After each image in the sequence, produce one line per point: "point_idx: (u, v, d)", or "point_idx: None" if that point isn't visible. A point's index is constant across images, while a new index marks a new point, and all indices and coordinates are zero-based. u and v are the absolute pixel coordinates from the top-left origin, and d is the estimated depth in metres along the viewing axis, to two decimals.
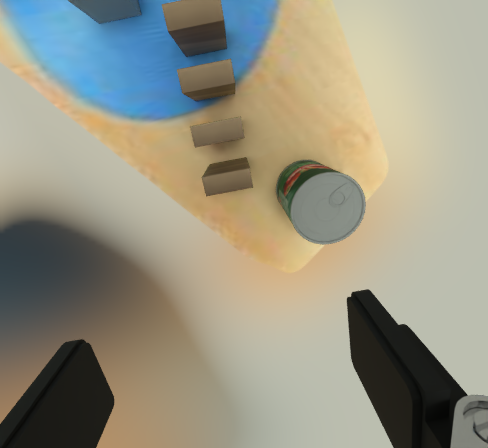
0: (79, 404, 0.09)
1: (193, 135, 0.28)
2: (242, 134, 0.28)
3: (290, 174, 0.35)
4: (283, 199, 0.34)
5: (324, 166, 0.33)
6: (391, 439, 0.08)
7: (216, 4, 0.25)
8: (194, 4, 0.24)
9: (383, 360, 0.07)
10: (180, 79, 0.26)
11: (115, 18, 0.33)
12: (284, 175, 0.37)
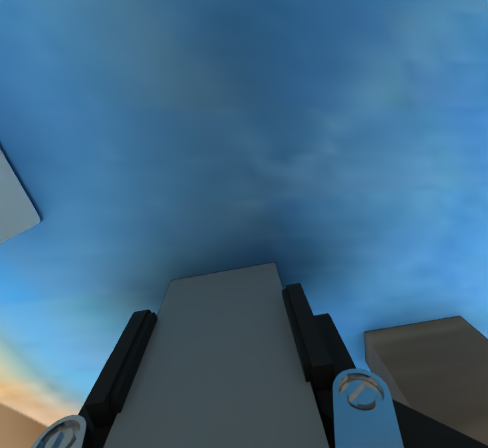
0: None
1: None
2: None
3: None
4: None
5: None
6: None
7: None
8: None
9: (296, 343, 0.08)
10: None
11: None
12: None
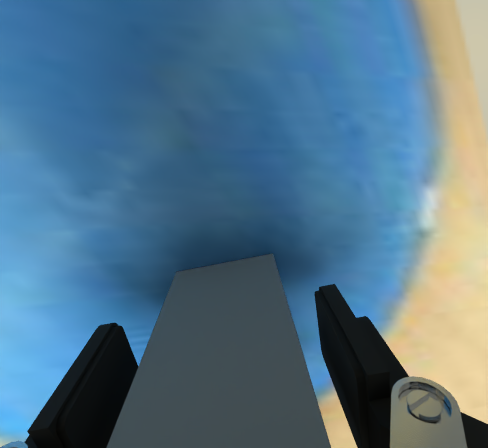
0: (116, 382, 0.09)
1: None
2: None
3: None
4: None
5: None
6: (349, 422, 0.08)
7: None
8: None
9: (339, 348, 0.08)
10: None
11: None
12: None
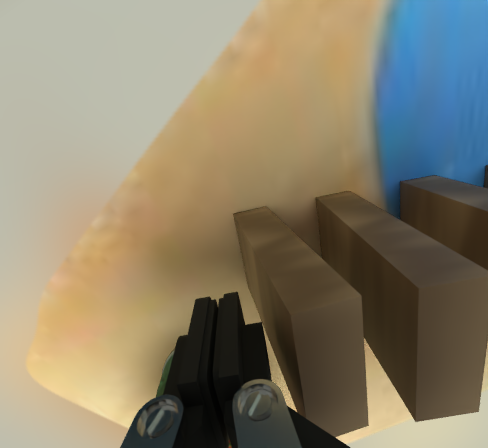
0: None
1: (461, 285, 0.08)
2: (427, 417, 0.09)
3: None
4: None
5: None
6: None
7: None
8: None
9: None
10: None
11: None
12: None
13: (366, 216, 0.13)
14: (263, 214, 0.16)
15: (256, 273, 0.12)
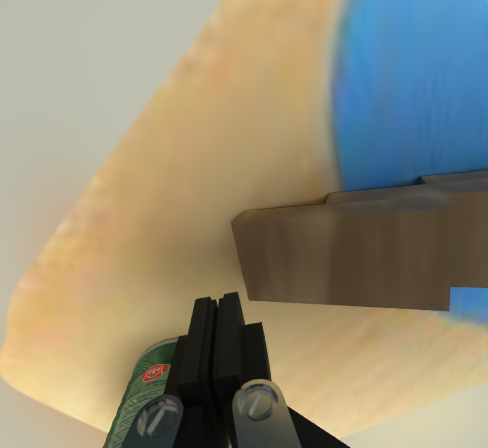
0: None
1: None
2: None
3: None
4: None
5: None
6: None
7: None
8: None
9: None
10: None
11: None
12: None
13: (417, 189, 0.15)
14: (262, 212, 0.16)
15: (330, 242, 0.14)
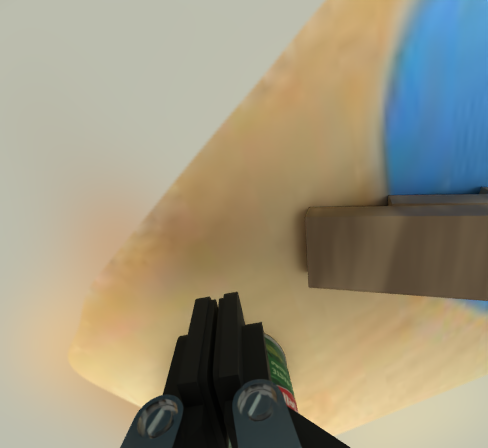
0: None
1: None
2: None
3: (281, 383, 0.19)
4: None
5: None
6: None
7: None
8: None
9: None
10: None
11: None
12: (269, 355, 0.21)
13: (472, 198, 0.17)
14: (328, 209, 0.19)
15: (396, 238, 0.16)
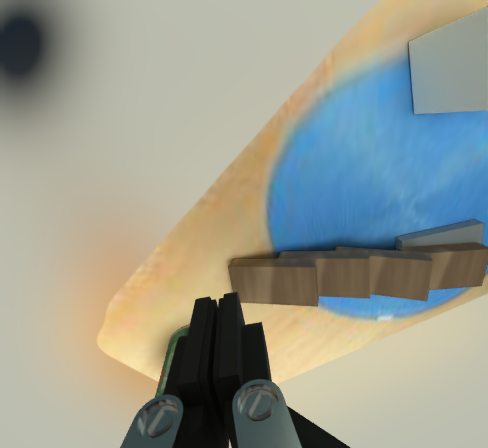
0: None
1: (368, 254, 0.32)
2: (369, 295, 0.33)
3: None
4: None
5: None
6: None
7: None
8: None
9: None
10: None
11: None
12: None
13: (316, 254, 0.33)
14: (242, 260, 0.35)
15: (271, 277, 0.33)
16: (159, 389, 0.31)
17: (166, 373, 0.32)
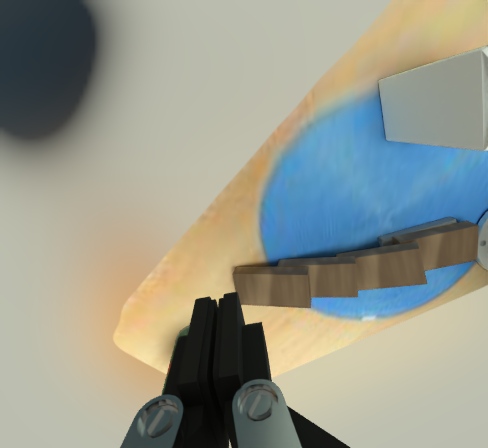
0: None
1: None
2: (357, 294, 0.38)
3: None
4: None
5: None
6: None
7: None
8: None
9: None
10: None
11: None
12: None
13: (311, 261, 0.39)
14: (244, 268, 0.40)
15: (270, 283, 0.38)
16: None
17: None
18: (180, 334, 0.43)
